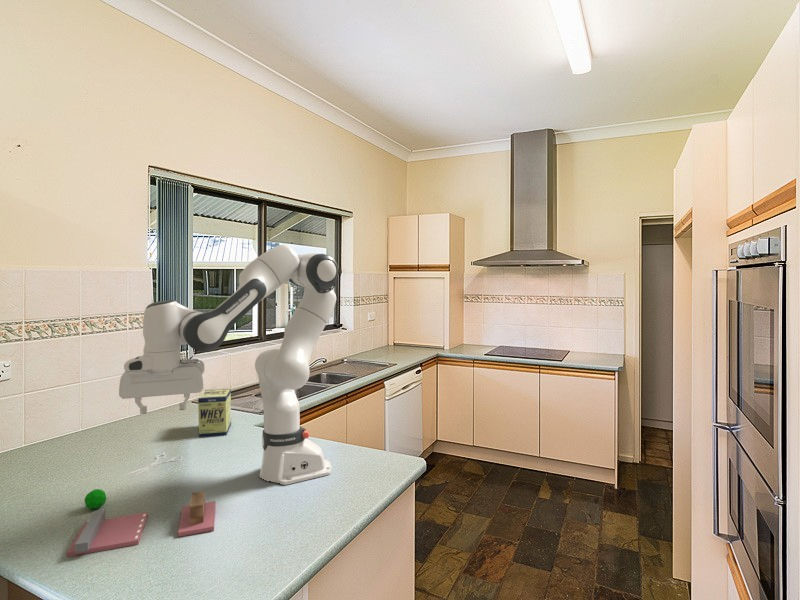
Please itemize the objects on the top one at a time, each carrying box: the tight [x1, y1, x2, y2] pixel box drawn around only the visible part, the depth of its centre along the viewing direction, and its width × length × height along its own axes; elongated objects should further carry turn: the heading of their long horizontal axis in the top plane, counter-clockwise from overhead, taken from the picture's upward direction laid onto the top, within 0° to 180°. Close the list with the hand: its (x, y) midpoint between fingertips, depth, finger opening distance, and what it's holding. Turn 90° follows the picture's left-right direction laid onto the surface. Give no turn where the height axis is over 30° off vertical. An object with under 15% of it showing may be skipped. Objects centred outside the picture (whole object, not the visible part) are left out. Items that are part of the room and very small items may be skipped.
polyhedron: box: [84, 488, 107, 510], centre depth 126 cm, size 5×5×5 cm
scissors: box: [122, 452, 183, 478], centre depth 155 cm, size 11×1×20 cm
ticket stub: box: [177, 490, 216, 538], centre depth 119 cm, size 8×14×6 cm, turn 20°
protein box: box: [197, 388, 232, 438], centre depth 190 cm, size 10×16×16 cm
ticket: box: [66, 509, 149, 558], centre depth 113 cm, size 14×16×3 cm
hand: (163, 411), depth 126 cm, fingers open, 8 cm apart
